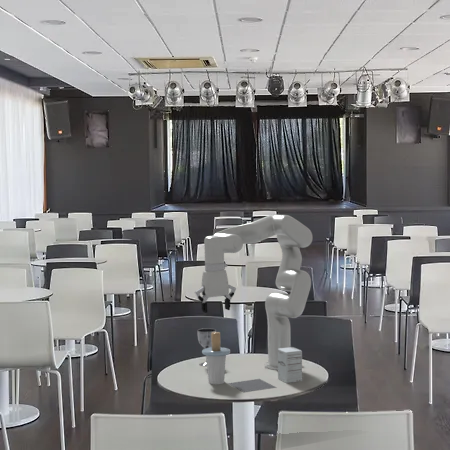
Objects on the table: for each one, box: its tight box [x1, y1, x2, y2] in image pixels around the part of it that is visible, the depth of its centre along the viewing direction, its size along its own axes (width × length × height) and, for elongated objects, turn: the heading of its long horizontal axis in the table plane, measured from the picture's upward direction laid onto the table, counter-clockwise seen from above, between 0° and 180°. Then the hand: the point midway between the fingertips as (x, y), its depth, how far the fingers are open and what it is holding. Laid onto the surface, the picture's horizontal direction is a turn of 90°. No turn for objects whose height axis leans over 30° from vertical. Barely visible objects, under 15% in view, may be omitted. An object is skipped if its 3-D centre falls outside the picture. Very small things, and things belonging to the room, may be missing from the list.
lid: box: [201, 331, 231, 357], centre depth 305 cm, size 11×11×8 cm
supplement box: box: [277, 346, 303, 384], centre depth 308 cm, size 7×7×13 cm
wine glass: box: [197, 327, 217, 367], centre depth 336 cm, size 8×8×15 cm
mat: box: [227, 378, 277, 393], centre depth 301 cm, size 14×14×1 cm
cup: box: [205, 355, 227, 385], centre depth 306 cm, size 8×8×12 cm
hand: (216, 310), depth 305 cm, fingers open, 9 cm apart
